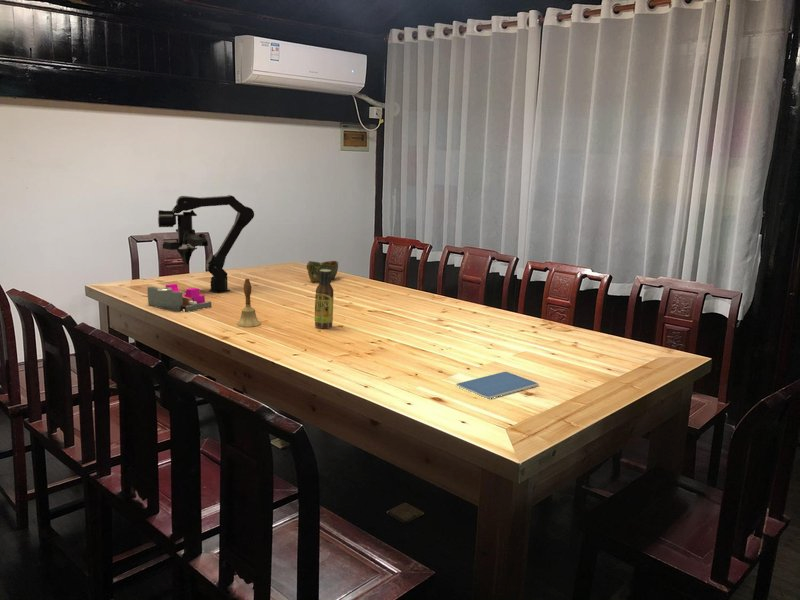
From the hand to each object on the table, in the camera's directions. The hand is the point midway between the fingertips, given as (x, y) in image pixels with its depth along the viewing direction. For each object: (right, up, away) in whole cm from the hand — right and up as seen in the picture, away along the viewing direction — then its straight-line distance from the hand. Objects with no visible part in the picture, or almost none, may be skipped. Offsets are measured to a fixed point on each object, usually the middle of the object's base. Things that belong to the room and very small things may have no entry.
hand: (186, 264), depth 270 cm
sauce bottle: (+62, -24, -46) cm, 81 cm away
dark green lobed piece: (+51, -6, +39) cm, 65 cm away
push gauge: (+4, -17, -21) cm, 28 cm away
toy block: (+6, -17, -19) cm, 26 cm away
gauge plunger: (+4, -17, -23) cm, 29 cm away
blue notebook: (+114, -38, -100) cm, 156 cm away
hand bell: (+36, -23, -45) cm, 63 cm away
